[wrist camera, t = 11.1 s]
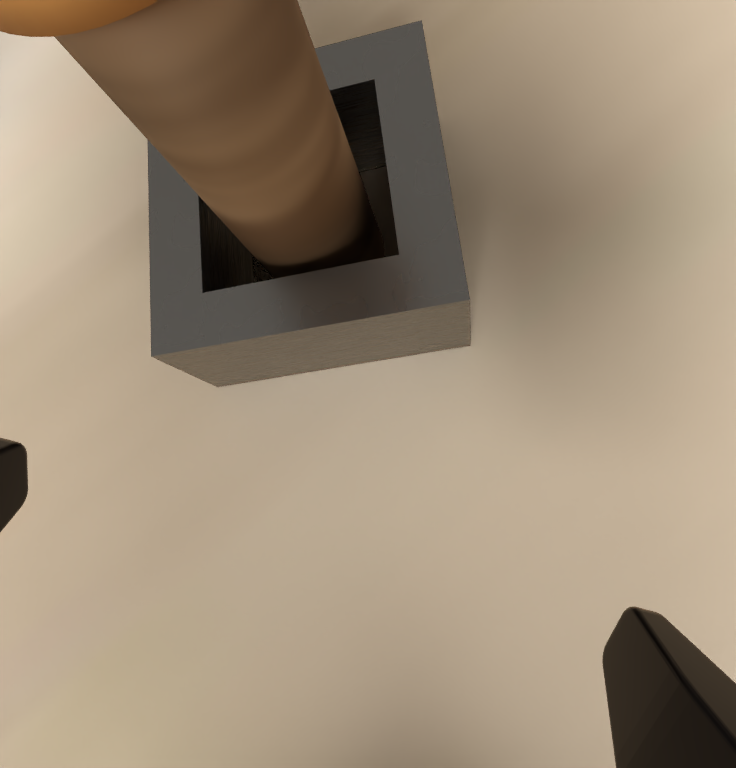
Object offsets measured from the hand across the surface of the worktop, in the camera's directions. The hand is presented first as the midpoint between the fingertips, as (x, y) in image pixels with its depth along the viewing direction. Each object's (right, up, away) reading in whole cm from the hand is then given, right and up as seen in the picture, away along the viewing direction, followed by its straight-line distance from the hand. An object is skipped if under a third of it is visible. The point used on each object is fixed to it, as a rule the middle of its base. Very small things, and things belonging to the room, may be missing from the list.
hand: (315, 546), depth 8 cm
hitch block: (-1, +7, +11) cm, 13 cm away
